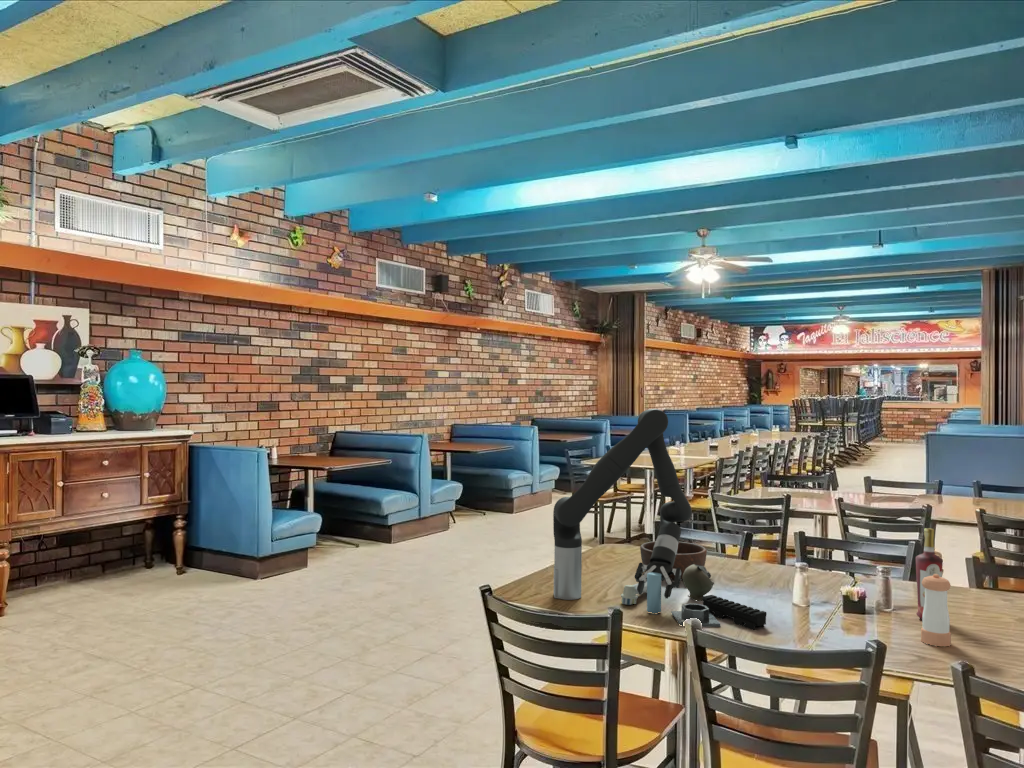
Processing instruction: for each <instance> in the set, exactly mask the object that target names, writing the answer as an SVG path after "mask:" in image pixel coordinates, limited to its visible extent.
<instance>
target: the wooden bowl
mask: <svg viewBox="0 0 1024 768" xmlns="http://www.w3.org/2000/svg"><path fill="white" fill-rule="evenodd" d="M655 542H656V540H655V541H649V542H644V543H642V544H641V545H640V547H639V551H640V556H641V557H640V558H641V563H643V565H648V564H649V563H650V559H651V555H652V552H653V548H654V545H655ZM707 553H708V550H707V548H706V547H705V546H703V545H701V544H700V545H699V544H697V543H691V542H686V541H679V543H678V549H677V555H676V557H675V561H674V565H673V569H676V568H678V567H679V568H680V570H681V573H682V574H681V579H682V576H683V573H684V571H685V569H686V568H687V567H689V566H691V565H693V563H694V564H695V565H699V566H704V567H706V562H707V561H706V560H707V555H708V554H707ZM646 571H648V569H646V570H645V572H646ZM669 578H670V580H674V579H675V575H674V573H672V574H671V575H670V576H669Z"/></svg>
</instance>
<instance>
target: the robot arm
mask: <svg viewBox="0 0 1024 768" xmlns="http://www.w3.org/2000/svg"><path fill="white" fill-rule="evenodd" d="M668 425H669V417H668V415H667V413H666V412H665V411H663V410H662V409H658V408H650V409H645V410H643V411H642V412H640V414H639V416H638V417H637V424H636V425H635V427H634V428H633V429H632V430H631V431H630V432H629V434H627V435H626V436H625V437H624V438H623V439H621V440H620V441H619V442H617V443H615V444H614V445H613V446H612V447H611V448H610V449H609V450H608V451H606V452H605V453H604V454H603V456H602V457H600V459H599V460H598V461H597V462H595V464H594V465H593V467H592V469H591V470H590V472H589V474H588V475H587V477H586V479H585V480H584V482H583V483H582V484H581V486H580V487H579V488H578V489H577V490H576V491H575V492H574V493H573V494H572V495H571V496H563V497H561V498H559V499H558V500H557V501H556V502H555V504H554V506H553V515H552V517H553V519H552V520H553V523H552V524H553V527H552V528H553V537H554V538H553V539H554V553H553V554H554V555H553V556H554V557H553V559H554V564H553V597H554V599H559V600H569V601H571V600H572V601H573V600H578V599H580V598H581V597H582V570H583V569H582V561H583V560H582V559H583V557H582V554H583V553H582V552H583V551H582V550H583V549H582V547H583V544H582V543H583V540H582V534H581V522H583V520H584V519H585V517H586V516H587V514H589V512H590V510H591V509H592V508H593V506H594V505H595V504H596V503H597V502H598V501H599V500H600V498H601V497H603V496H604V495H605V494H606V493H607V492H608V491H609V490H610V489H611V488H612V487H613V485H615V484H616V483H617V482H618V481H619V480H620V478H621V477H623V475H625V473H626V472H627V471H628V470H629V468H630V467H631V466H632V465H633V464H634V463H635V462H636V460H637V459H638V458H639V457H640V455H641V454H642V453H643V451H645V449H646V448H647V450H648V452H649V455H650V456H649V457H650V459H651V464H652V467H653V470H654V474H655V478H656V482H657V486H658V489H659V492H660V495H661V496H664V497H668V498H671V499H672V500H673V501H667V502H664V503H663V504H662V505H661V507H660V509H659V530H658V534H657V538H656V539H655V541H656V542H655V545H654V548H653V552H652V555H651V559H650V563H649V564H648V565H643V563H642V562H639V563H638V565H637V568H636V571H635V574H634V575H633V576H634V579H635V582H637V583H638V587H637V591H638V592H639V594H638V595H641V596H642V595H643V593H642V592H643V589H644V584H645V583H646V582H647V573H652V572H654V573H660V574H661V582H663V581H665V582H666V583H667V584H666V586H665V589H664V594H663V596H664V599H669V598H670V597H671V594H672V591H673V589H674V588H676V589H678V588H680V584H681V581H682V580H681V574H682V573H681V570H680V568H679V567H678V568H676V569H673V565H674V561H675V557H676V555H677V549H678V543H679V542H680V539H681V535H682V528H681V527H680V525H679V524H677V523H680V522H687V521H689V520H690V519H691V517H692V512H693V511H692V506H691V504H690V502H689V499H687V497H686V495H685V493H684V491H683V489H682V488H681V485H680V481H679V477H678V474H677V470H676V467H675V466H674V462H673V460H672V458H671V456H670V454H669V452H668V449H667V446H666V442H665V438H664V433H665V432H666V430H667V429H668ZM646 569H648V571H646ZM672 573H674V575H675V579H673V581H672V579H670V578H669V576H670V575H671V574H672Z"/></svg>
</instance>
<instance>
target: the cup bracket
mask: <svg viewBox="0 0 1024 768" xmlns="http://www.w3.org/2000/svg"><path fill="white" fill-rule="evenodd" d="M671 613H672V615H673V616H674V617H675V619H676V620H677V621H678V623H679V624H680V625H682V626H683V622H684V621H685V620H686V619H690V618H697V619H699V620H700V621H701V623H702V626H703V627H702V628H704V627H705V628H707V627H708V628H721V622H720V621H719V620H718V619H717V617H715V616H713V615H712V614H711V613H710V611H709V608H708V607H707V606H705V605H703V604H700V603H686V604H682V605H681V611H679V610H671V611H670V614H671ZM672 615H671V616H672ZM673 616H672V617H673ZM674 617H673V618H674ZM675 619H674V620H675ZM676 620H675V621H676ZM678 623H677V624H678ZM679 624H678V625H679Z"/></svg>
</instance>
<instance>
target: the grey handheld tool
mask: <svg viewBox="0 0 1024 768" xmlns="http://www.w3.org/2000/svg"><path fill="white" fill-rule="evenodd" d="M638 583H639V582H637V583H635V584H632V585H631V584H625V585H624V587H623V591H622V593H621V594H620V598H621V602H622V603H621V604H623V605H627V606H632V605H633V604H636V605H637V599H638V598H639V597H638V595H640V594H639V592H638V591H637V587H638ZM644 593H647V582H646V583H645V584H644V589H643V592H642V594H644Z"/></svg>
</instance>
